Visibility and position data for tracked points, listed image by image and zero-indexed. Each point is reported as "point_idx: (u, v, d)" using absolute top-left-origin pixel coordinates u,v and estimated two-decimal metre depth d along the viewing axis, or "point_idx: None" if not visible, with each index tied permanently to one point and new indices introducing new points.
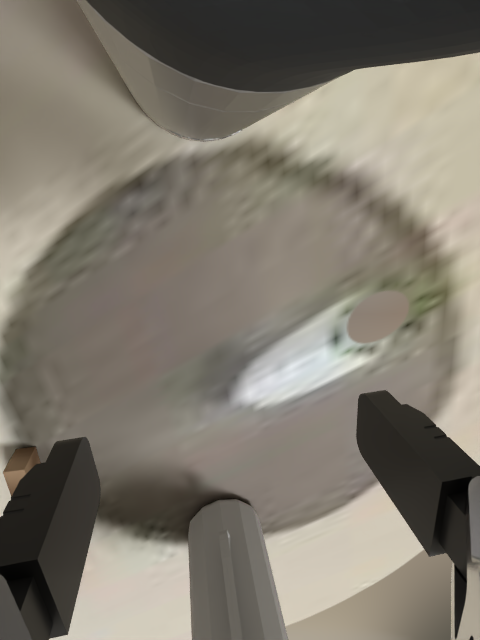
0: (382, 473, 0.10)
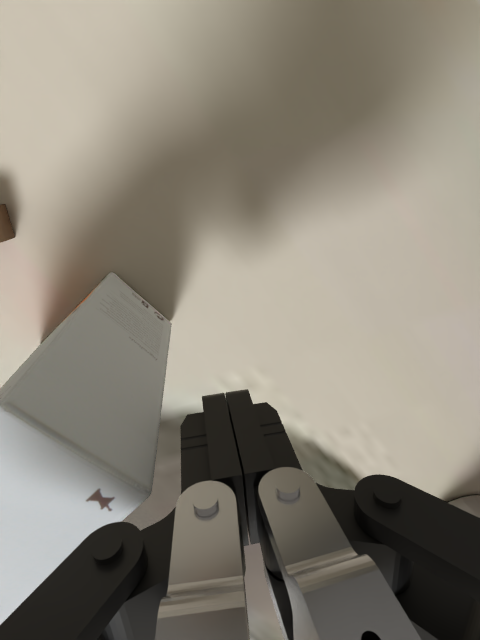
0: None
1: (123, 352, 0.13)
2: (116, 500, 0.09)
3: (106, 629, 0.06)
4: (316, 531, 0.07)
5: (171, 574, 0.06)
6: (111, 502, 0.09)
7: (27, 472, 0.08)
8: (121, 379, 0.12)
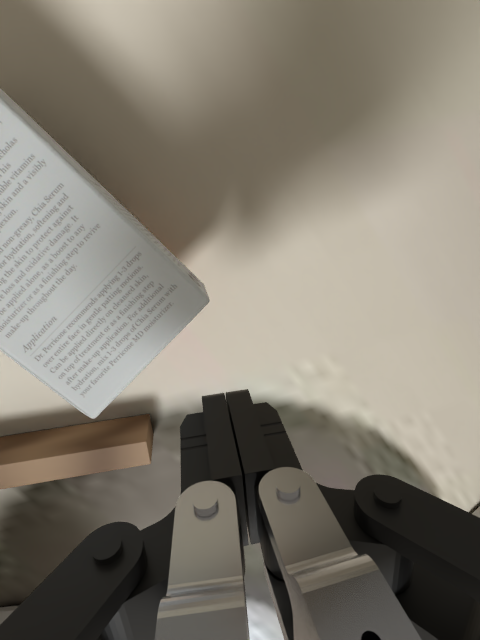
0: None
1: (70, 157, 0.13)
2: None
3: (105, 629, 0.06)
4: (316, 531, 0.07)
5: (171, 574, 0.06)
6: None
7: None
8: (26, 116, 0.12)
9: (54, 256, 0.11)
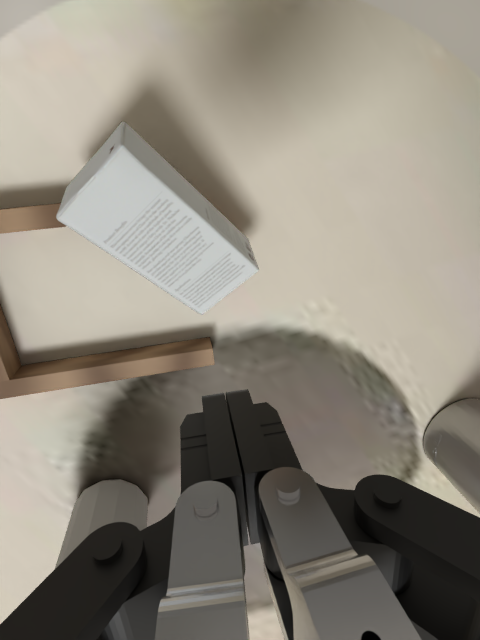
0: None
1: (191, 194, 0.23)
2: (114, 148, 0.19)
3: (105, 629, 0.06)
4: (317, 531, 0.07)
5: (171, 574, 0.06)
6: (112, 149, 0.19)
7: (110, 140, 0.21)
8: (171, 178, 0.22)
9: (192, 255, 0.24)
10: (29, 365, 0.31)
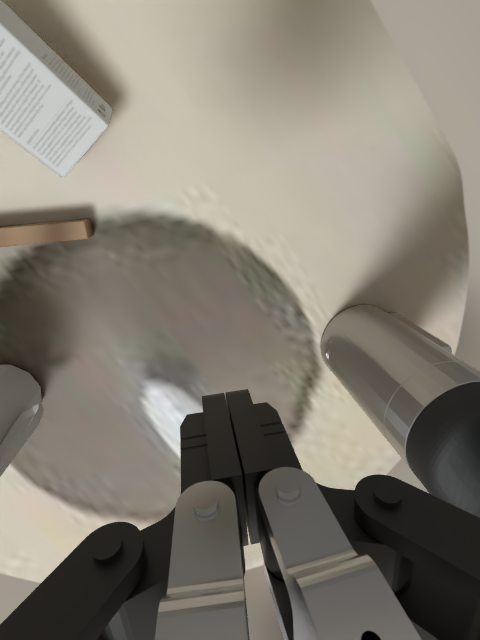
0: None
1: (27, 35, 0.24)
2: None
3: (106, 629, 0.06)
4: (316, 531, 0.07)
5: (171, 574, 0.06)
6: None
7: None
8: (0, 11, 0.23)
9: (32, 99, 0.25)
10: None
